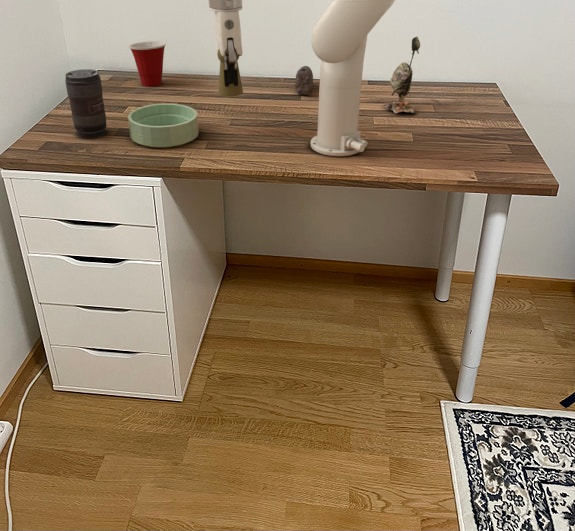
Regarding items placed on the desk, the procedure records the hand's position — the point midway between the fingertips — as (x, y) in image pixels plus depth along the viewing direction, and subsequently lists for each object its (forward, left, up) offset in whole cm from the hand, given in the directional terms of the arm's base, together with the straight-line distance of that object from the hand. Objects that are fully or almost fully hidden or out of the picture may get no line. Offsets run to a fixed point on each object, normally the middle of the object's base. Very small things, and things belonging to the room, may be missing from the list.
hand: (230, 82), depth 150 cm
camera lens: (+22, +27, -13) cm, 37 cm away
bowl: (+9, +14, -13) cm, 21 cm away
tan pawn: (0, 0, -3) cm, 3 cm away
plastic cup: (+48, -6, -13) cm, 50 cm away
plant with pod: (-15, -47, -13) cm, 51 cm away
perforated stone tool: (+14, -38, -13) cm, 42 cm away
